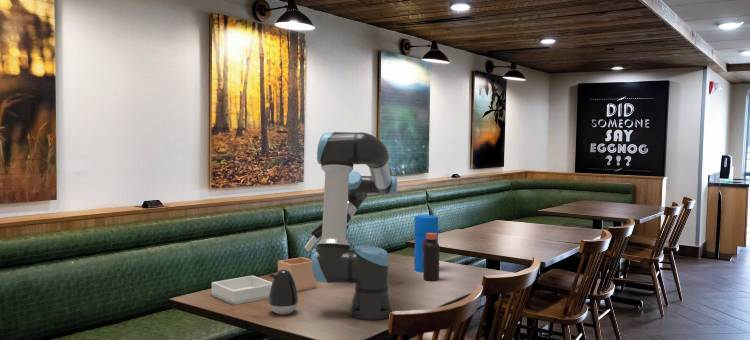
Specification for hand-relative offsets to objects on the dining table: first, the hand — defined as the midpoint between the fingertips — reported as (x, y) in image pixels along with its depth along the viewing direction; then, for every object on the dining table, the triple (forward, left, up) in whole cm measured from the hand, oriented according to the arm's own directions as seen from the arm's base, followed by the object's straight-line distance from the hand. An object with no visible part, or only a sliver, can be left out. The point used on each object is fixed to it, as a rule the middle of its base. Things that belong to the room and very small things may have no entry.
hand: (315, 251), depth 249 cm
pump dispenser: (-41, +5, -14) cm, 43 cm away
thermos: (+30, -46, -14) cm, 57 cm away
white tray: (-21, +25, -13) cm, 35 cm away
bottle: (+12, -48, -14) cm, 52 cm away
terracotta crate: (-7, +7, -13) cm, 17 cm away
